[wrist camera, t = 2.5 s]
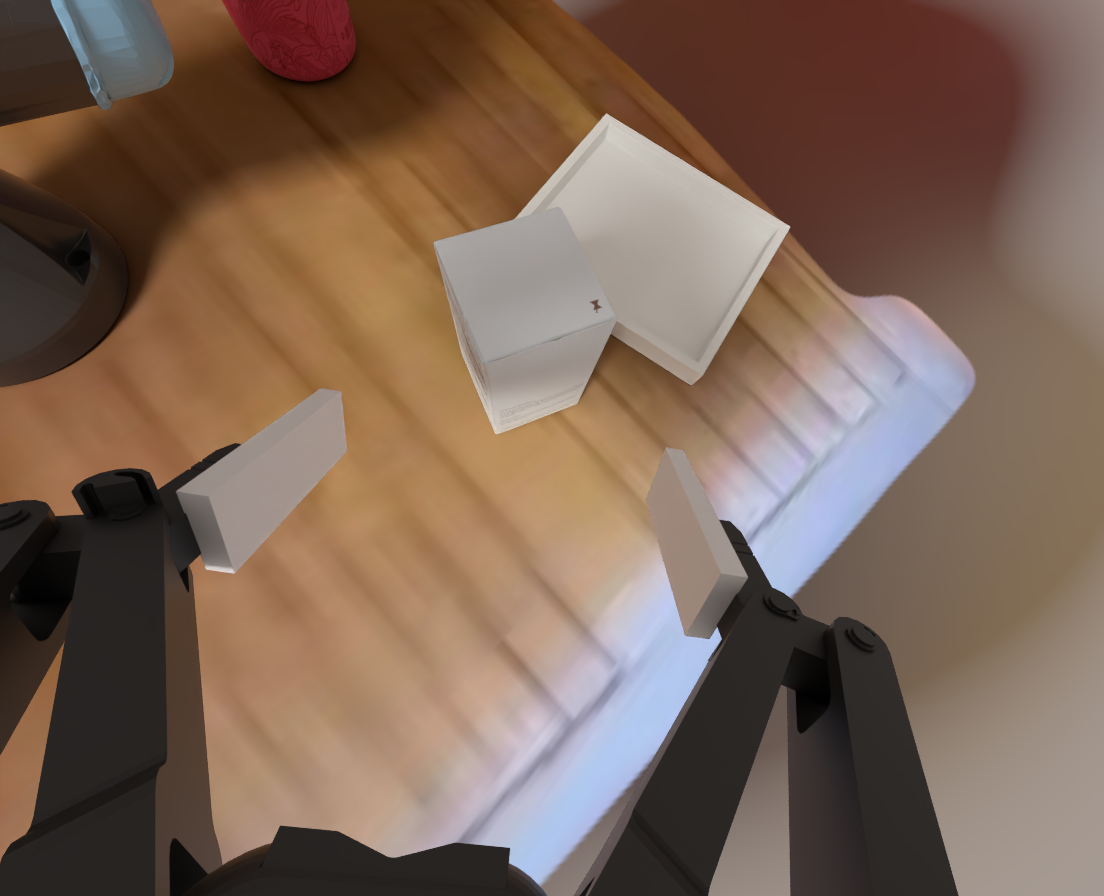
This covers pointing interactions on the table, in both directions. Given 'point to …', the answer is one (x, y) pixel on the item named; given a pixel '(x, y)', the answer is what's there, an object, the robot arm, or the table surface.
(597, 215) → the white tray
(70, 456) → the table surface
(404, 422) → the table surface
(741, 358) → the table surface
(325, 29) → the wine bottle
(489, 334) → the supplement box
